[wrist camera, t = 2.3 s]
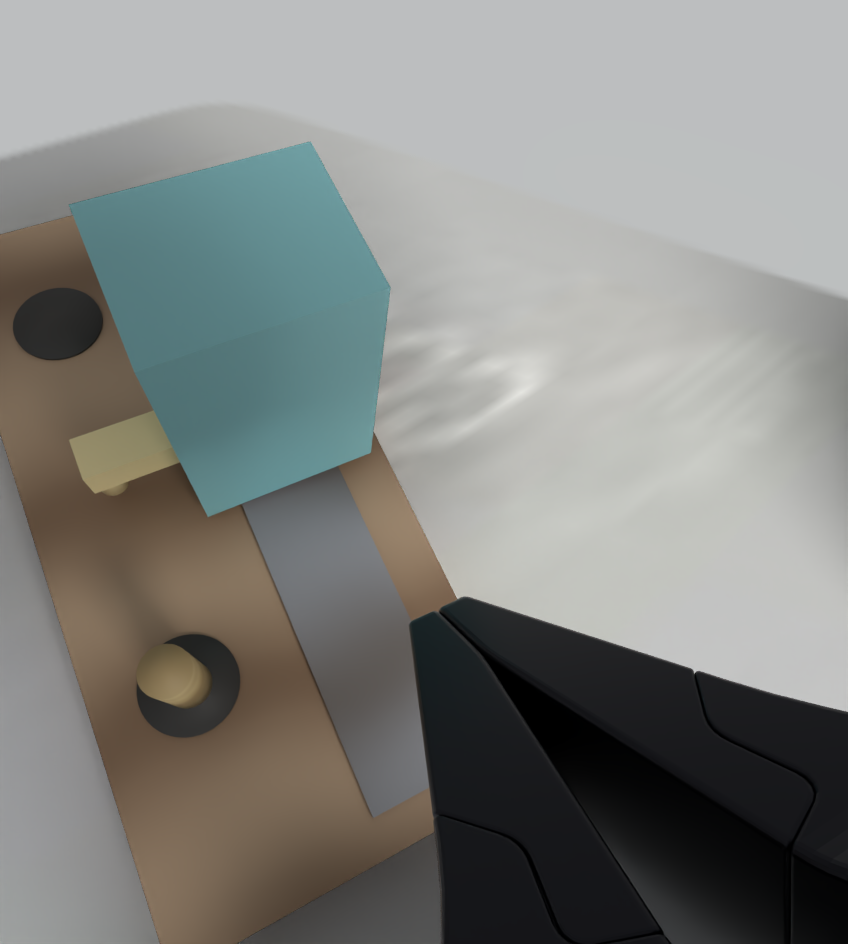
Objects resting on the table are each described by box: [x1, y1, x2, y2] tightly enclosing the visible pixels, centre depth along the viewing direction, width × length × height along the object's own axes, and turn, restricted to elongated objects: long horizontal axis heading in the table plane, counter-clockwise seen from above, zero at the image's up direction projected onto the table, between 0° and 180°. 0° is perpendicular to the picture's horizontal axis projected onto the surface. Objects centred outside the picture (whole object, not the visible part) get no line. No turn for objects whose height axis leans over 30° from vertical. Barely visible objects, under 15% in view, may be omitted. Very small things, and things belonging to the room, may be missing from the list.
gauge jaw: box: [69, 142, 390, 517], centre depth 17 cm, size 4×7×8 cm, turn 116°
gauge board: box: [0, 215, 457, 944], centre depth 20 cm, size 22×10×5 cm, turn 26°
